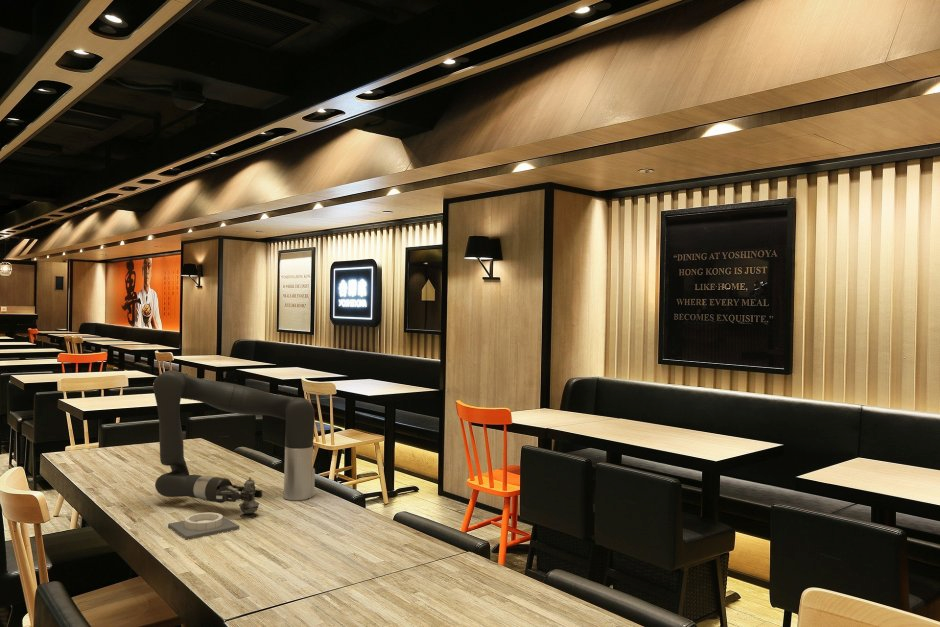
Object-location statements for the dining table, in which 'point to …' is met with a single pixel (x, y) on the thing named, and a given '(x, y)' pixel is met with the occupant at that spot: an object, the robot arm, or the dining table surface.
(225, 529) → the tray
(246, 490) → the salt shaker
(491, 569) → the dining table surface
